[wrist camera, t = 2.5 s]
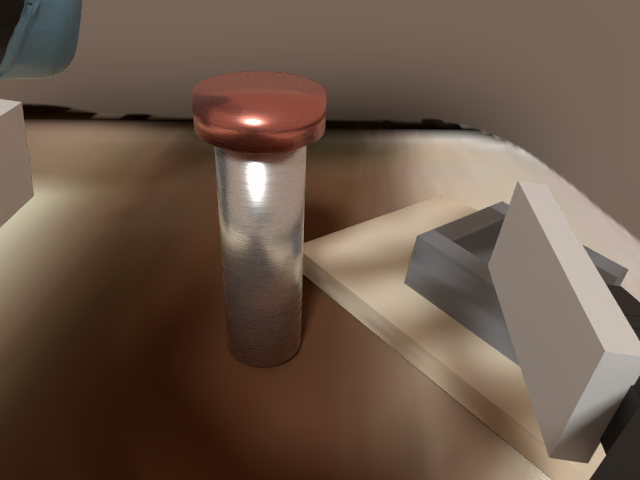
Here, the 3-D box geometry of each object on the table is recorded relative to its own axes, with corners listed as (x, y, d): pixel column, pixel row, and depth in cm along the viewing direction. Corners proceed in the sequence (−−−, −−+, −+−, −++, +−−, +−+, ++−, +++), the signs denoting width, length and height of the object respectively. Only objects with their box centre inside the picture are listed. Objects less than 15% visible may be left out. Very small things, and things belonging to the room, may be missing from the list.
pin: (192, 334, 33) (166, 85, 25) (274, 295, 36) (273, 64, 28) (251, 395, 29) (241, 128, 21) (336, 346, 32) (354, 97, 25)
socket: (291, 265, 39) (301, 199, 36) (441, 209, 49) (458, 154, 46) (600, 518, 26) (650, 446, 24) (719, 373, 36) (764, 311, 33)
